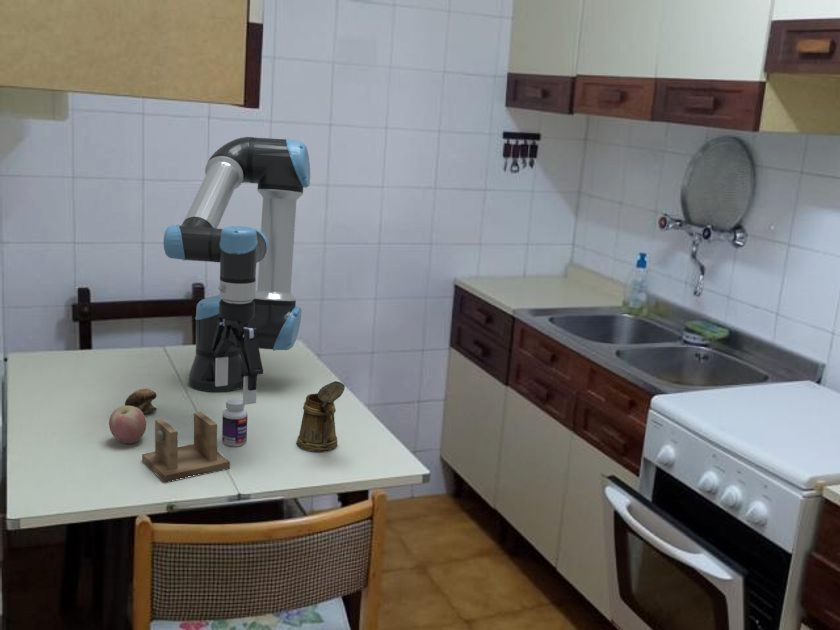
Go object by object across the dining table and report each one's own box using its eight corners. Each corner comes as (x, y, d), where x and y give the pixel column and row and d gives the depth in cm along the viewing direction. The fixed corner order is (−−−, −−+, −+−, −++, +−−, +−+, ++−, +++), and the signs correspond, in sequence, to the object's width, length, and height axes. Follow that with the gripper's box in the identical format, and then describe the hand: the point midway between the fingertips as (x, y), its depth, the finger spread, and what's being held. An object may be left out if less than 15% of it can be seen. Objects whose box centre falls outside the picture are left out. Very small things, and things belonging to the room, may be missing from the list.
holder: (142, 460, 185) (141, 418, 182) (205, 448, 193) (205, 407, 191) (164, 482, 176) (164, 437, 173) (229, 468, 184) (230, 425, 182)
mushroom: (168, 401, 210) (153, 379, 209) (140, 420, 205) (124, 398, 205) (158, 407, 216) (144, 385, 216) (131, 425, 212) (116, 403, 211)
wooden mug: (312, 463, 190) (315, 383, 185) (291, 439, 201) (294, 364, 197) (350, 457, 194) (355, 379, 189) (328, 435, 205) (331, 361, 201)
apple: (104, 438, 194) (103, 404, 192) (138, 432, 199) (138, 399, 197) (116, 451, 188) (116, 416, 186) (151, 445, 193) (151, 410, 191)
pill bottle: (241, 448, 194) (242, 406, 192) (218, 445, 195) (218, 403, 193) (250, 439, 200) (251, 398, 197) (228, 436, 201) (228, 395, 198)
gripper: (196, 289, 197) (195, 380, 201) (248, 314, 178) (245, 414, 183) (227, 286, 201) (225, 376, 206) (281, 311, 182) (278, 408, 187)
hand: (235, 394), depth 194 cm, fingers open, 13 cm apart
